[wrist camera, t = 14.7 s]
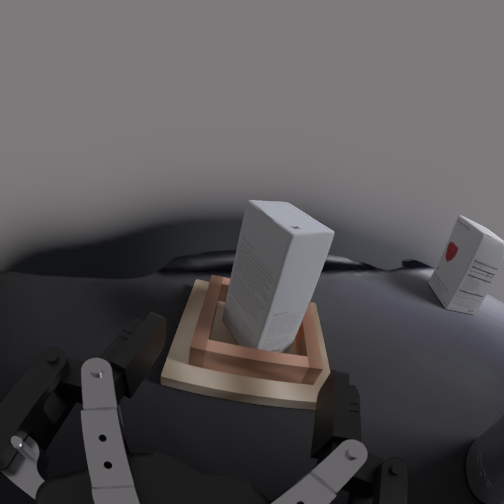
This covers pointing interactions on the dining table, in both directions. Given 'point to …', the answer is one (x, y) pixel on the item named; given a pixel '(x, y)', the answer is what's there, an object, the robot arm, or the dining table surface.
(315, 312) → the serum stand
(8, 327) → the dining table surface
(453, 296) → the supplement box
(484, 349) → the dining table surface
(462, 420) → the dining table surface
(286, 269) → the skincare box
